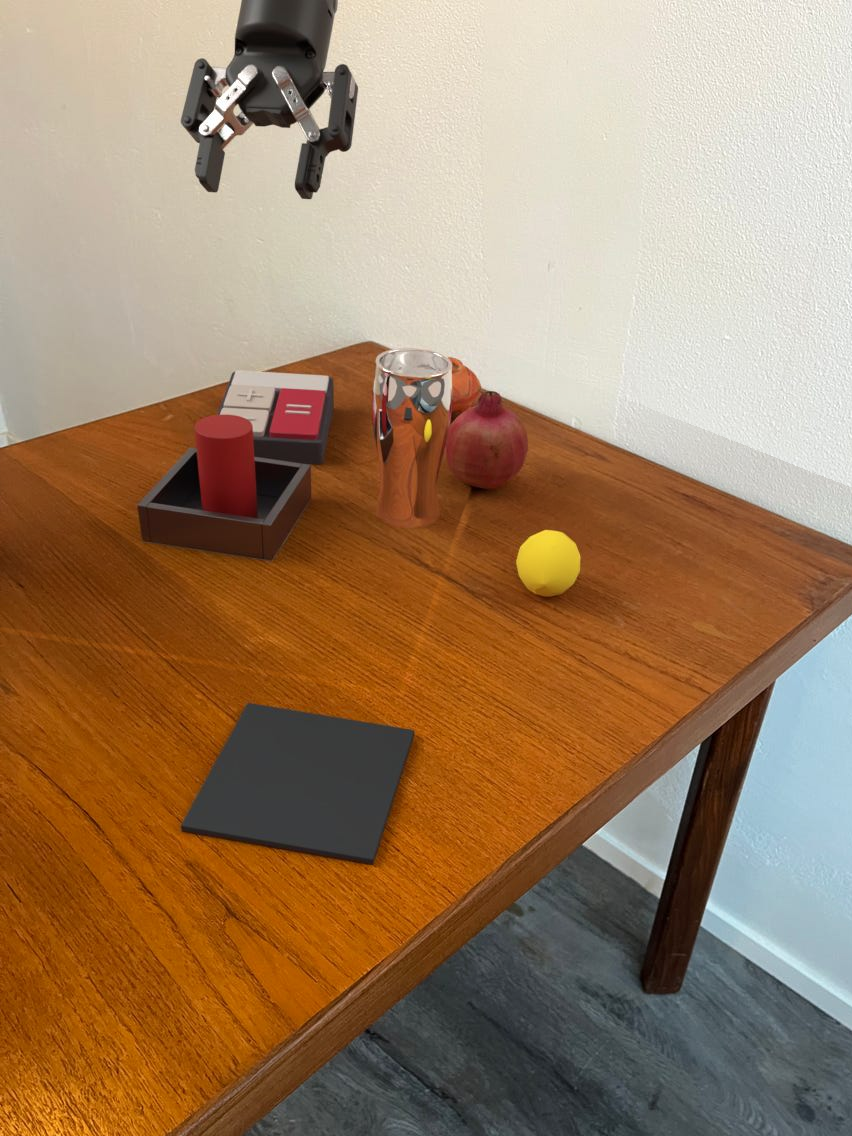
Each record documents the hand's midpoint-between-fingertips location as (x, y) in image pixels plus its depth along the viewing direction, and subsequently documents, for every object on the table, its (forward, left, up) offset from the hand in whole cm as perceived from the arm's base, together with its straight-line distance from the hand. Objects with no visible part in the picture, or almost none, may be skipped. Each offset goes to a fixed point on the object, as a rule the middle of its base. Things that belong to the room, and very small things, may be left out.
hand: (254, 191), depth 83 cm
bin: (0, -9, -26) cm, 28 cm away
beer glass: (+15, -3, -27) cm, 30 cm away
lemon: (+29, -12, -27) cm, 41 cm away
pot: (+14, +21, -27) cm, 36 cm away
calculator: (-2, +10, -27) cm, 28 cm away
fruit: (+21, +5, -27) cm, 34 cm away
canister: (0, -9, -26) cm, 27 cm away
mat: (+16, -39, -26) cm, 50 cm away
